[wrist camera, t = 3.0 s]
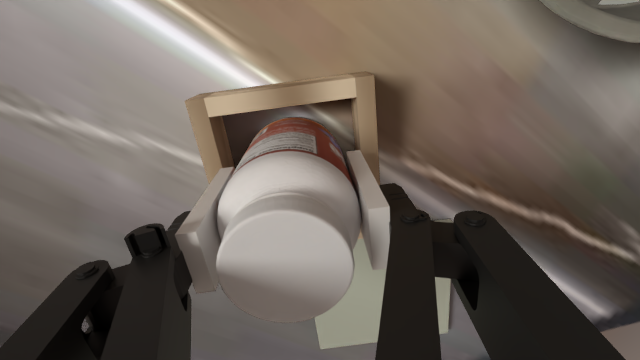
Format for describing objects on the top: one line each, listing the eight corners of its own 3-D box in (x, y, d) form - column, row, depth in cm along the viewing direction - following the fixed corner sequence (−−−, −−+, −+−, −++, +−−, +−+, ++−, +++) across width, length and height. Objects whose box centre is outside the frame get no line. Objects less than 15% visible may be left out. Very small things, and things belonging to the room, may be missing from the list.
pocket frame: (237, 234, 23) (230, 256, 20) (199, 94, 19) (184, 100, 16) (374, 216, 23) (382, 236, 20) (365, 71, 19) (374, 75, 16)
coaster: (319, 343, 27) (320, 349, 27) (301, 238, 23) (301, 242, 22) (445, 327, 27) (447, 332, 27) (450, 218, 23) (453, 222, 22)
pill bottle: (343, 199, 22) (376, 333, 12) (255, 206, 22) (212, 346, 12) (340, 111, 19) (379, 183, 9) (241, 117, 19) (171, 197, 9)
